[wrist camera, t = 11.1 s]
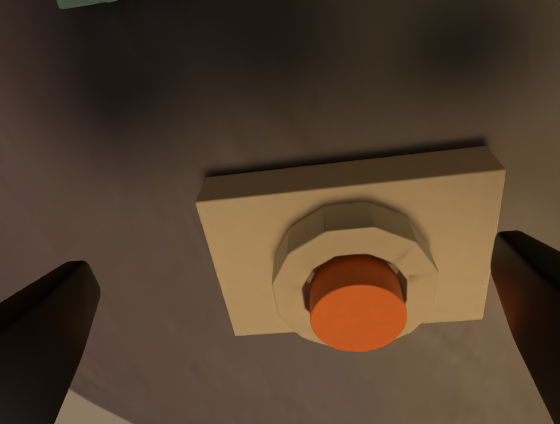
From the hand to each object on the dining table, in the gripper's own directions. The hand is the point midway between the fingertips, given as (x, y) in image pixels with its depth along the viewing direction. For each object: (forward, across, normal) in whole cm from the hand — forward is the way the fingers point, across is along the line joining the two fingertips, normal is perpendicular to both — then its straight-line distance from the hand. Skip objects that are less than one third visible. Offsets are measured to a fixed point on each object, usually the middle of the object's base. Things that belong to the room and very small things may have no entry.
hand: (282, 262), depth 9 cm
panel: (+9, -2, +6) cm, 11 cm away
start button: (+6, -2, +6) cm, 9 cm away
